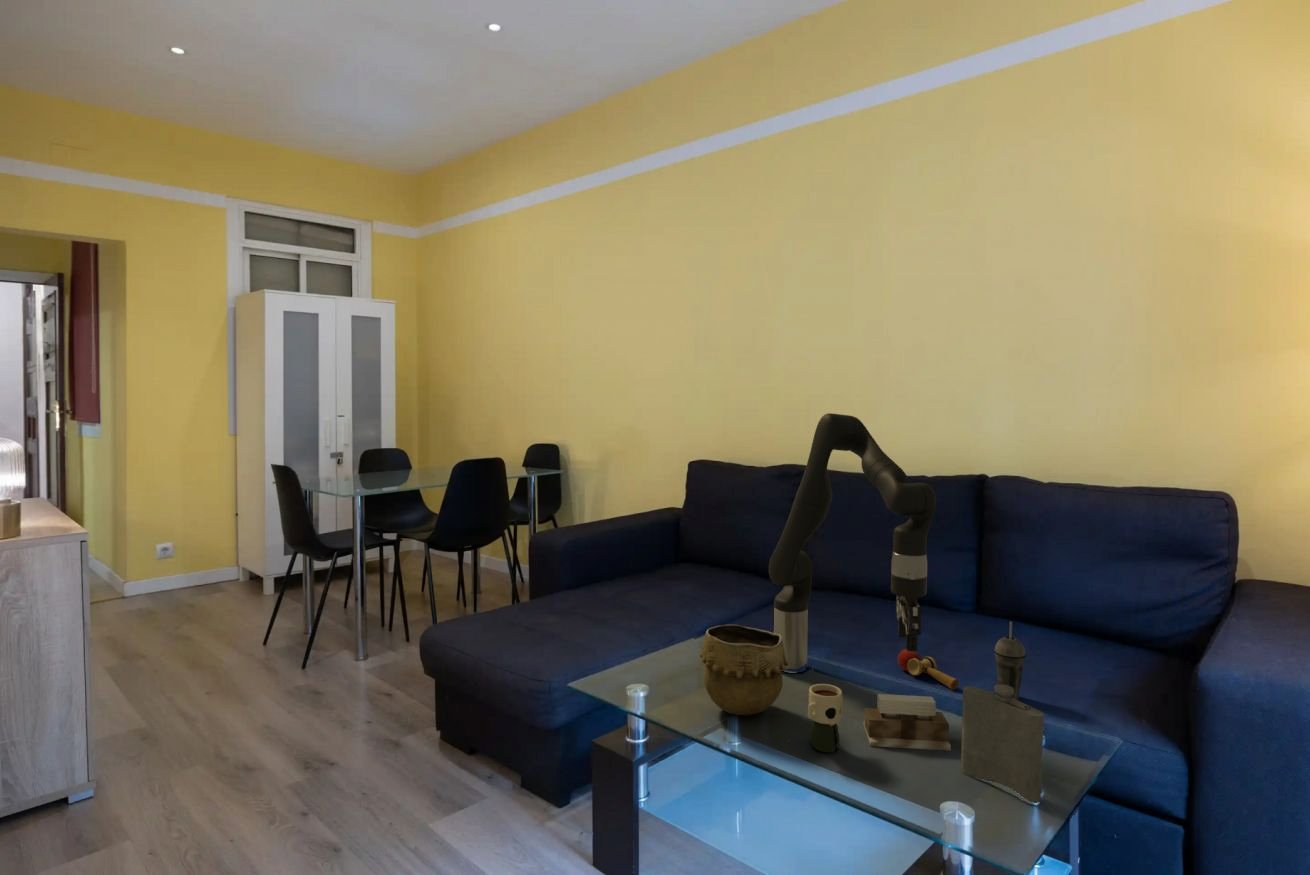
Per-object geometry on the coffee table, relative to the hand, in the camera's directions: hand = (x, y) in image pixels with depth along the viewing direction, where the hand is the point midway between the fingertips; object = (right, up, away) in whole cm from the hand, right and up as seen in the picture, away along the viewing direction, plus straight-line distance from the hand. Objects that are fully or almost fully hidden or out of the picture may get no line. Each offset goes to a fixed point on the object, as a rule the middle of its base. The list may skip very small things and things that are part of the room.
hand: (907, 643), depth 162 cm
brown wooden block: (0, -22, +2) cm, 22 cm away
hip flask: (+12, -23, -18) cm, 32 cm away
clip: (0, -21, +2) cm, 21 cm away
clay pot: (-35, -21, +15) cm, 43 cm away
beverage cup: (+34, -20, +22) cm, 45 cm away
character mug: (-19, -22, -3) cm, 29 cm away
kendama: (+17, -20, +35) cm, 44 cm away
